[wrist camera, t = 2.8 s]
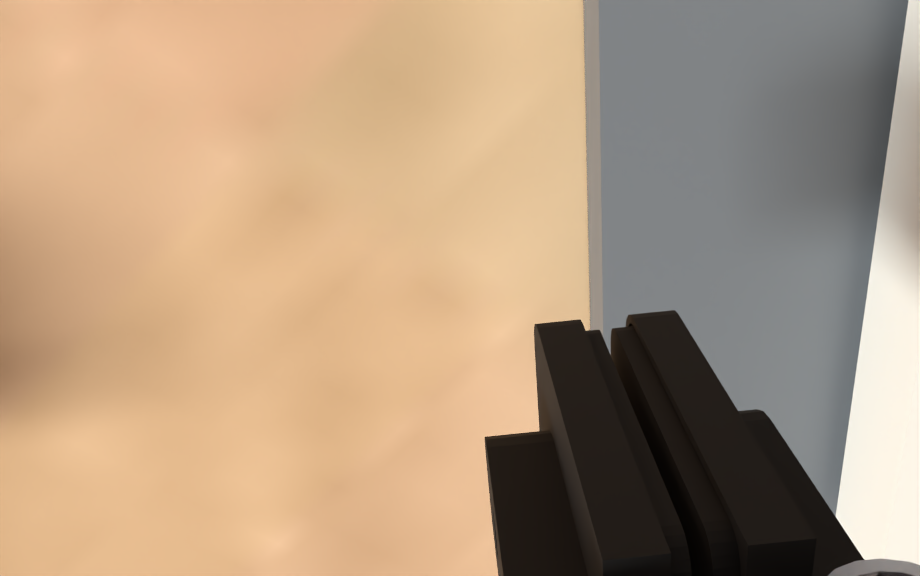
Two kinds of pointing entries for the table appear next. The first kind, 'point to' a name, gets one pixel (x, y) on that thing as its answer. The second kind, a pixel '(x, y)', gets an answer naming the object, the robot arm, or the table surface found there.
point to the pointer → (890, 347)
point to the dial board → (745, 191)
